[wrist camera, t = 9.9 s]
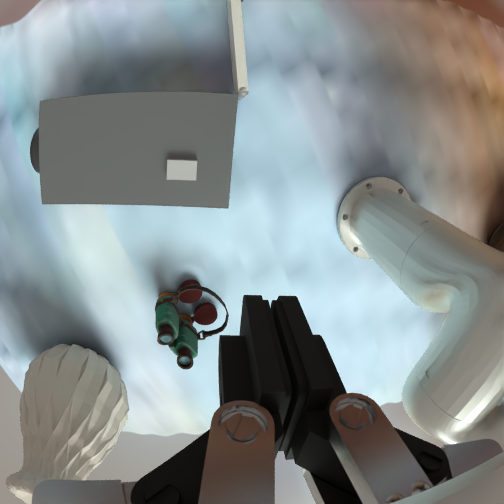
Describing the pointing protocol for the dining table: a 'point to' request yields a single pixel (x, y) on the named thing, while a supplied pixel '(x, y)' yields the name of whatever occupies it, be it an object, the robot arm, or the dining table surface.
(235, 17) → the side door
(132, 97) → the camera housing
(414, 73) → the dining table surface
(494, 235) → the wooden sphere
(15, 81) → the dining table surface
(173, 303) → the binoculars
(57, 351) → the vase
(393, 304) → the dining table surface
